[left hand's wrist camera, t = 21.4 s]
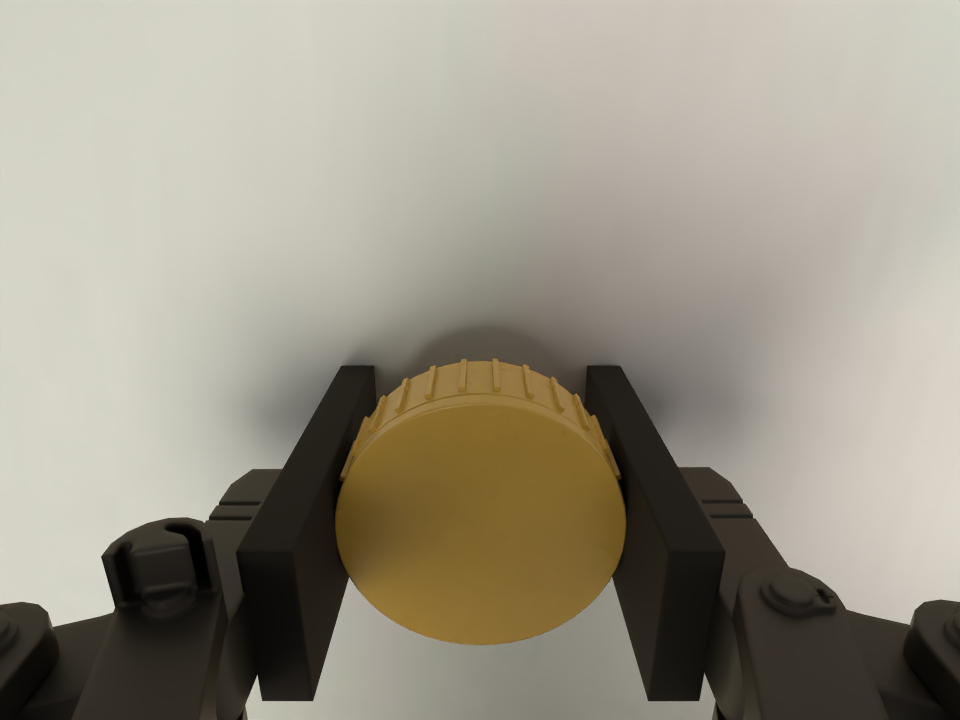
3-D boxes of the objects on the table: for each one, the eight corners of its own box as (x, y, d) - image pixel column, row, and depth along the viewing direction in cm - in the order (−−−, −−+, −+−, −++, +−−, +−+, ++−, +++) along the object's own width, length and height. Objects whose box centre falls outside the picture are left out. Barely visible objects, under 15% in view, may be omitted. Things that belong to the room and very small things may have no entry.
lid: (627, 554, 13) (650, 621, 11) (392, 599, 13) (379, 670, 12) (586, 329, 11) (606, 367, 9) (315, 388, 11) (286, 436, 10)
